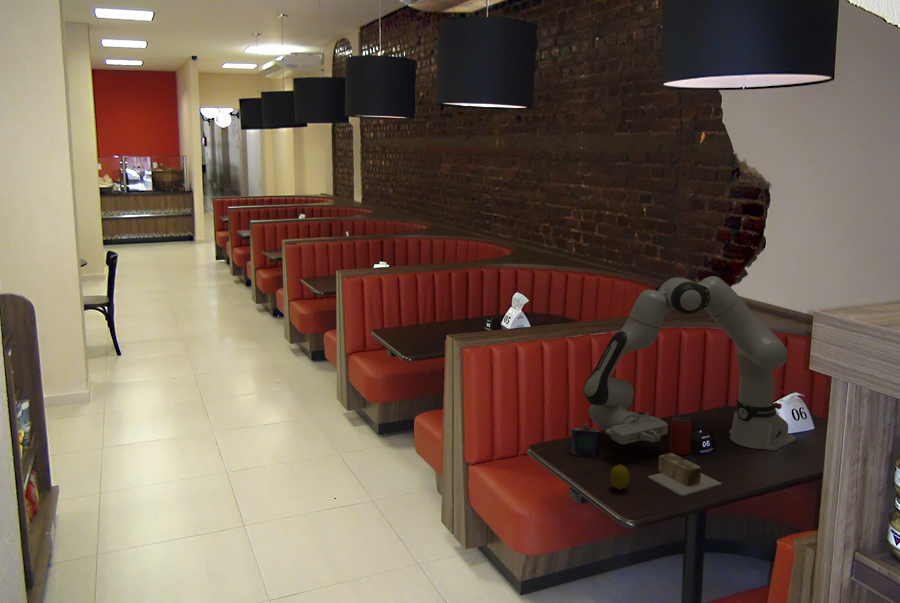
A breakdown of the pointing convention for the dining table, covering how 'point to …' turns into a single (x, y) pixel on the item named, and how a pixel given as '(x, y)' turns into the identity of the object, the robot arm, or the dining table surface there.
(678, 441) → the beer can
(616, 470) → the lemon
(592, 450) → the flask
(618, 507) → the dining table surface
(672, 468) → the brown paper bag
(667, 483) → the grey mat
